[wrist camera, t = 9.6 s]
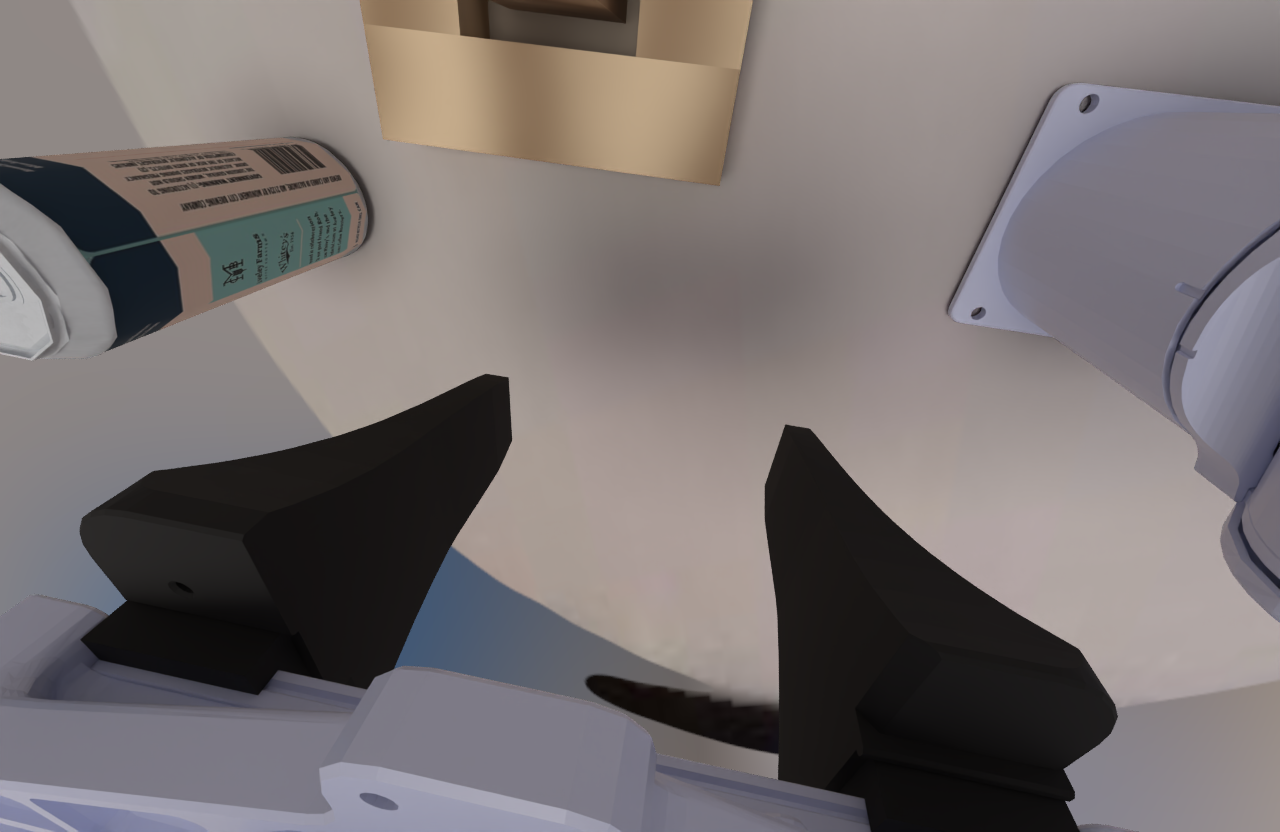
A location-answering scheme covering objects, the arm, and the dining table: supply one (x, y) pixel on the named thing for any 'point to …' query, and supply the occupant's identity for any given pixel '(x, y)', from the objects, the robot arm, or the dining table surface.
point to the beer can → (160, 236)
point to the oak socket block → (562, 82)
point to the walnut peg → (573, 8)
